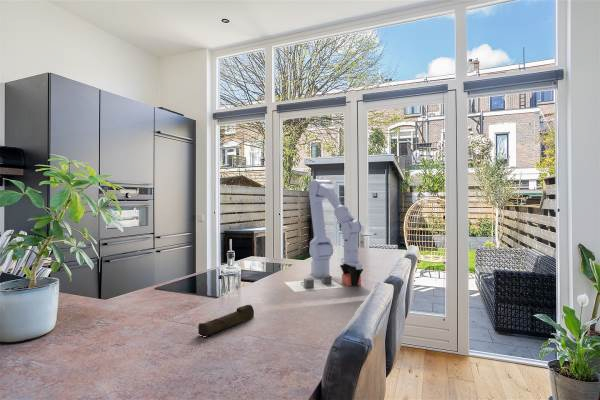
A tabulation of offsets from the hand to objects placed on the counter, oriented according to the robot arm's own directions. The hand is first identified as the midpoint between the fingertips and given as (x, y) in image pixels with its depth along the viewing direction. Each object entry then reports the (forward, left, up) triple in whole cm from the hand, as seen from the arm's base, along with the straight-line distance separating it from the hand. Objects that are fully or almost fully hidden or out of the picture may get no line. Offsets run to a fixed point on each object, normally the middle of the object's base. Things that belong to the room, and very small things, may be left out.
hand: (351, 283), depth 139 cm
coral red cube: (0, 0, -1) cm, 1 cm away
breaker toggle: (0, -18, 0) cm, 18 cm away
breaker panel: (-3, -15, -1) cm, 15 cm away
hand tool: (+27, -51, -2) cm, 58 cm away
